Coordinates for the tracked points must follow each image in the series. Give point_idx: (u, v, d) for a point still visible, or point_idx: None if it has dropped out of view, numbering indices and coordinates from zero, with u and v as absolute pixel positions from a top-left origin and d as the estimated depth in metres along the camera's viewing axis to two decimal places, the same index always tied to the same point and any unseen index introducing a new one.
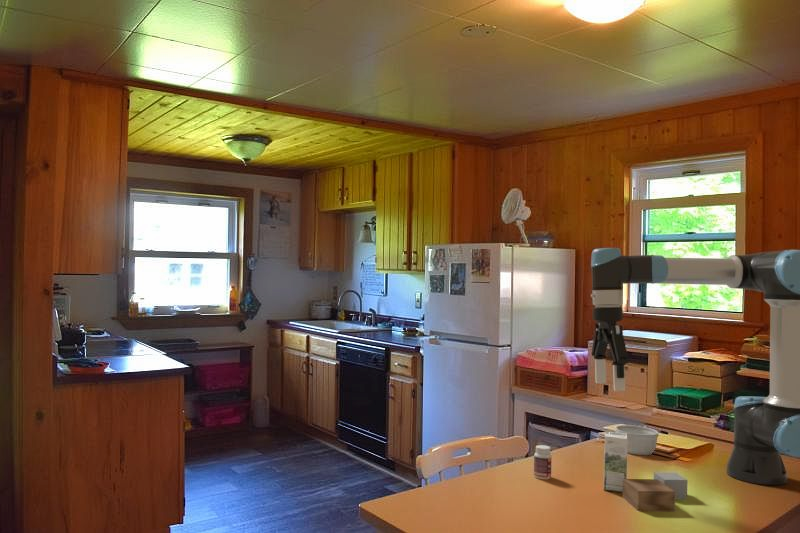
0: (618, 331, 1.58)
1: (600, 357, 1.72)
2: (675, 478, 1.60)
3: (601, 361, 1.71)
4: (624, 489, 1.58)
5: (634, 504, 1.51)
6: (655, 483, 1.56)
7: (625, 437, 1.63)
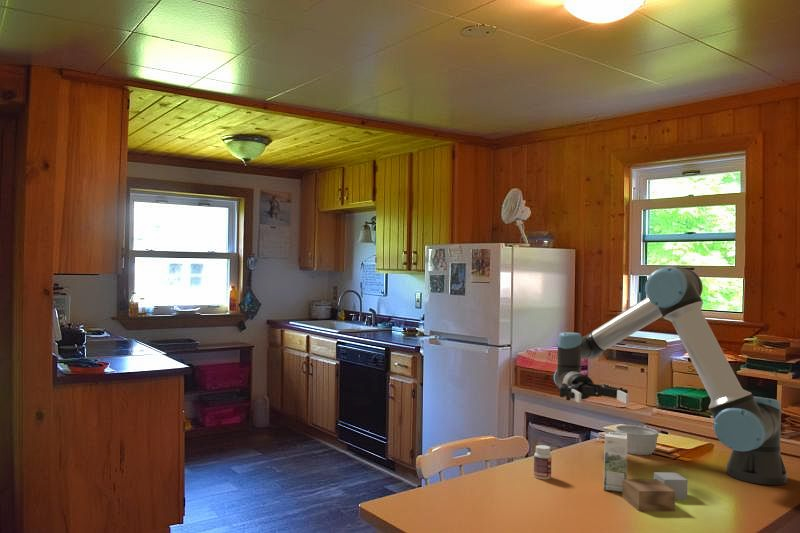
0: None
1: None
2: (675, 478, 1.60)
3: (617, 394, 1.81)
4: (623, 489, 1.58)
5: (635, 504, 1.51)
6: (655, 483, 1.56)
7: (625, 437, 1.63)
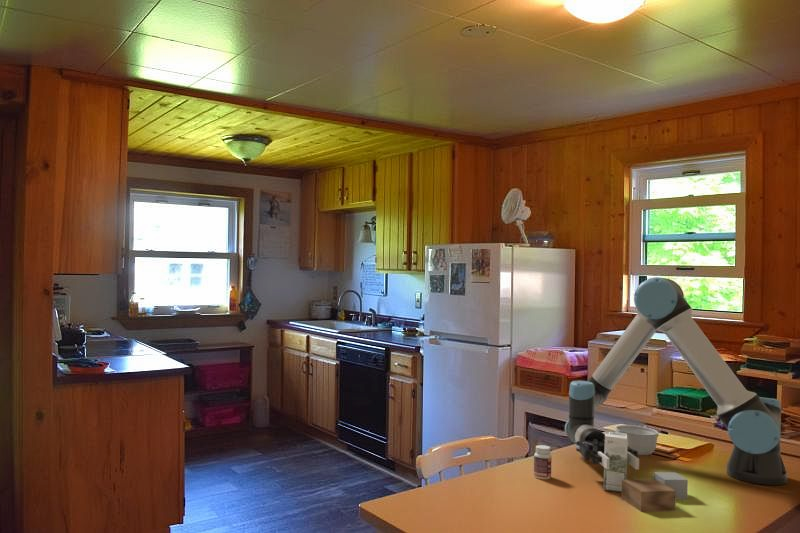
0: (578, 446, 1.76)
1: None
2: (675, 478, 1.60)
3: (627, 456, 1.66)
4: (623, 490, 1.57)
5: (637, 505, 1.51)
6: (654, 483, 1.56)
7: (625, 437, 1.63)
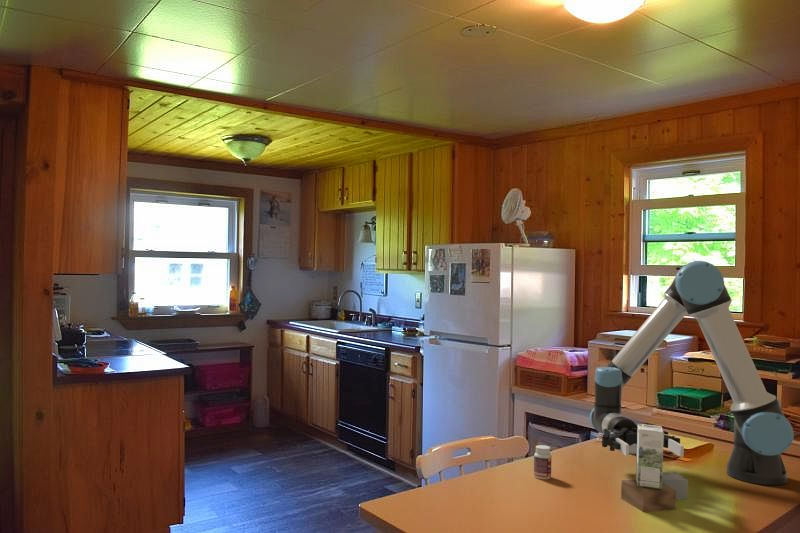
0: (604, 434, 1.66)
1: None
2: (675, 478, 1.60)
3: (669, 444, 1.58)
4: (623, 491, 1.57)
5: (638, 505, 1.51)
6: None
7: (661, 430, 1.52)
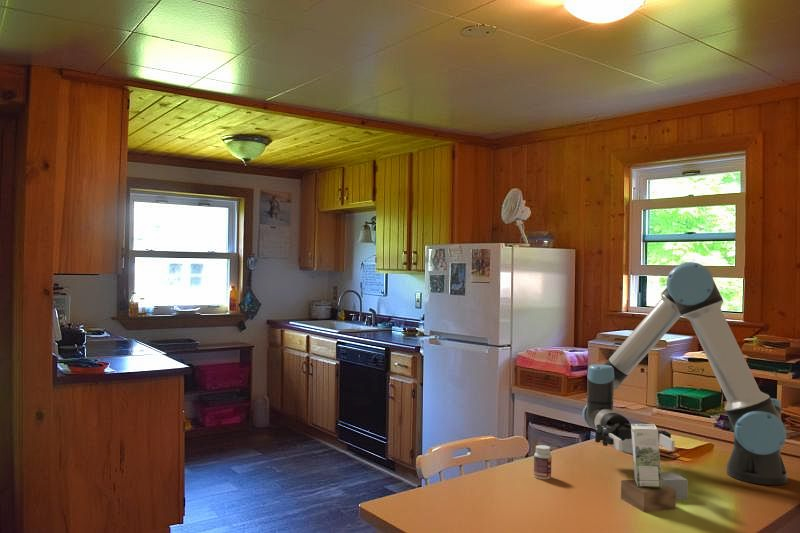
0: (597, 429, 1.71)
1: None
2: (675, 478, 1.60)
3: (660, 438, 1.62)
4: (622, 491, 1.57)
5: (639, 506, 1.51)
6: None
7: (655, 427, 1.52)
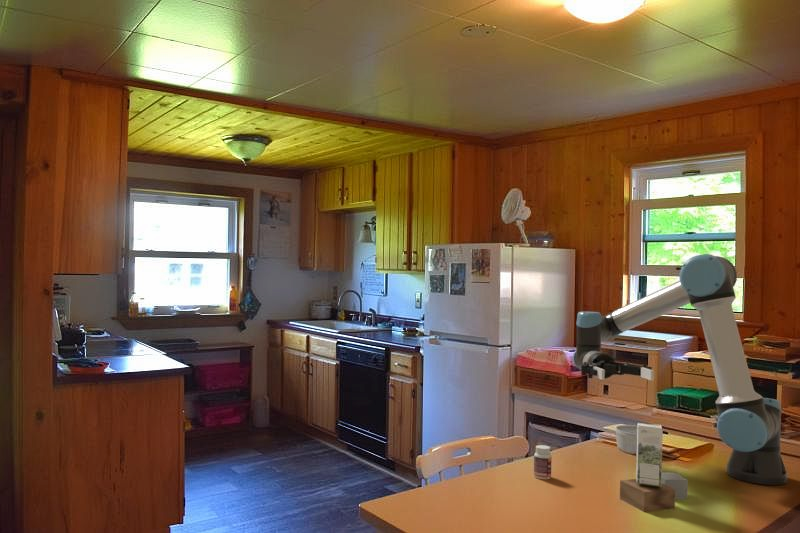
0: None
1: None
2: (675, 478, 1.60)
3: (641, 371, 1.75)
4: (621, 491, 1.57)
5: (639, 505, 1.51)
6: None
7: (660, 427, 1.54)
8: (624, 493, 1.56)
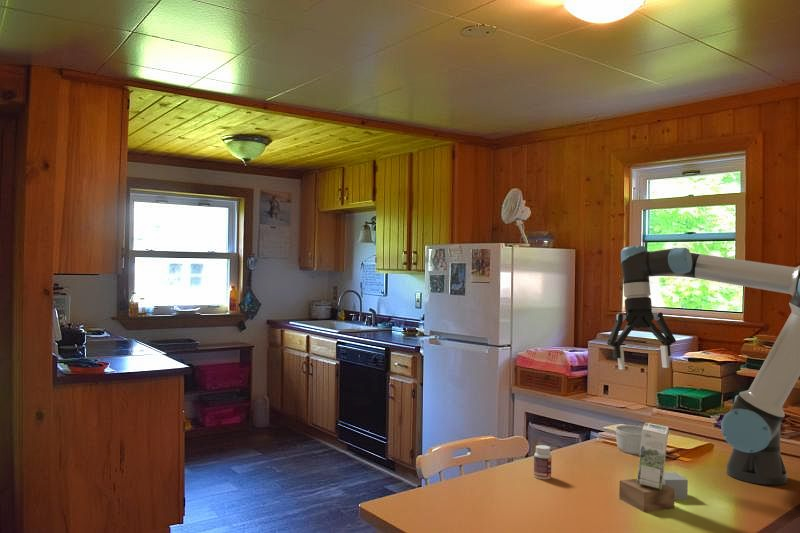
0: (617, 318, 1.86)
1: (664, 344, 1.86)
2: (675, 478, 1.60)
3: (663, 347, 1.86)
4: (621, 491, 1.57)
5: (638, 506, 1.51)
6: None
7: (665, 432, 1.50)
8: (623, 493, 1.56)
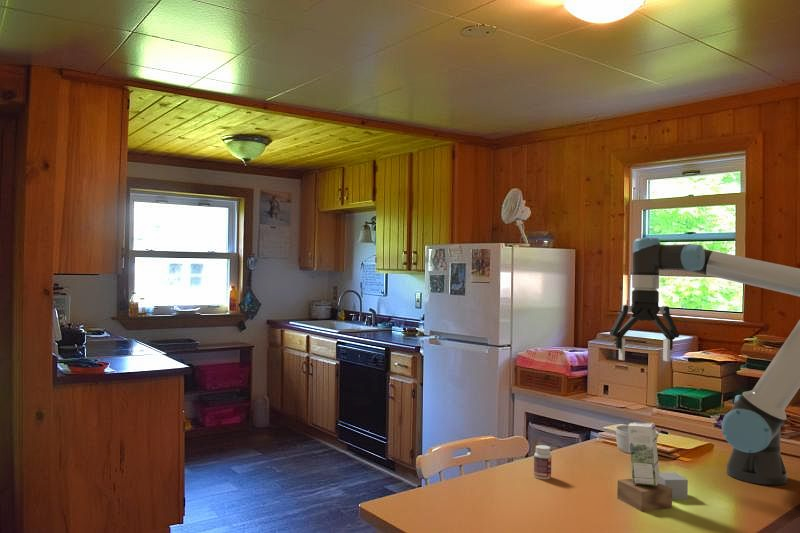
0: (622, 309, 1.86)
1: (668, 337, 1.87)
2: (675, 478, 1.60)
3: (665, 341, 1.87)
4: (619, 490, 1.57)
5: (636, 505, 1.51)
6: None
7: (649, 425, 1.54)
8: (621, 493, 1.56)
